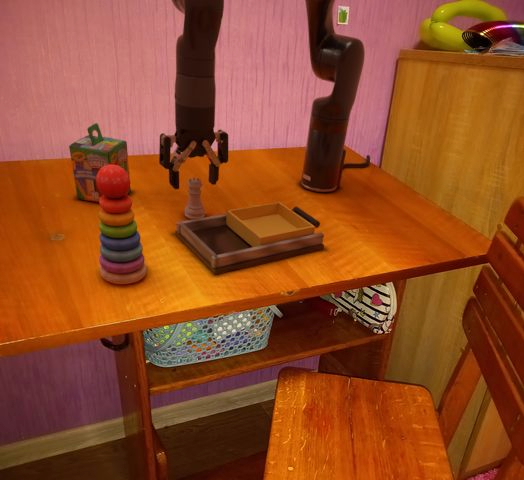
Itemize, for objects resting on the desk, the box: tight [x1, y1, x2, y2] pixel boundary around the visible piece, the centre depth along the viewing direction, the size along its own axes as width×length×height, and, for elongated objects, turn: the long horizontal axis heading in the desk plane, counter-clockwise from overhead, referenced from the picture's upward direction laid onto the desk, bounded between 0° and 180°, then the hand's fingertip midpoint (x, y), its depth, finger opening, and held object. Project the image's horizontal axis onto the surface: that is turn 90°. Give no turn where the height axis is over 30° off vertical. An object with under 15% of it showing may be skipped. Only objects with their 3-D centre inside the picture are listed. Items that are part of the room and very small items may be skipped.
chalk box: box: [68, 122, 132, 203], centre depth 106 cm, size 9×9×15 cm
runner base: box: [175, 213, 325, 275], centre depth 98 cm, size 25×17×3 cm
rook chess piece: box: [184, 177, 206, 220], centre depth 104 cm, size 4×4×8 cm
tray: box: [226, 201, 321, 247], centre depth 100 cm, size 16×13×3 cm
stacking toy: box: [96, 165, 148, 285], centre depth 80 cm, size 8×8×19 cm
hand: (194, 185), depth 102 cm, fingers open, 8 cm apart
